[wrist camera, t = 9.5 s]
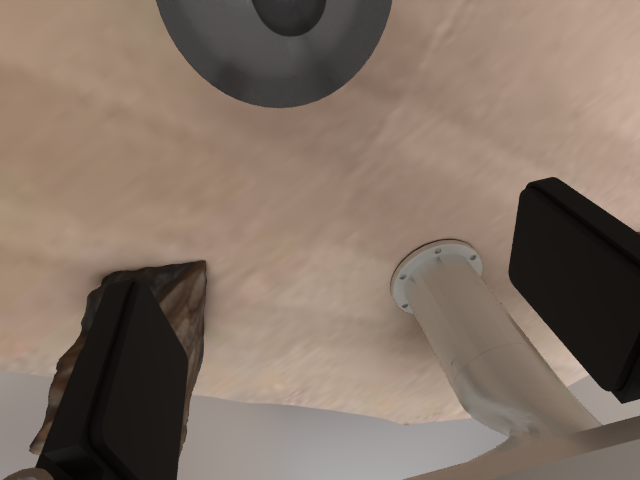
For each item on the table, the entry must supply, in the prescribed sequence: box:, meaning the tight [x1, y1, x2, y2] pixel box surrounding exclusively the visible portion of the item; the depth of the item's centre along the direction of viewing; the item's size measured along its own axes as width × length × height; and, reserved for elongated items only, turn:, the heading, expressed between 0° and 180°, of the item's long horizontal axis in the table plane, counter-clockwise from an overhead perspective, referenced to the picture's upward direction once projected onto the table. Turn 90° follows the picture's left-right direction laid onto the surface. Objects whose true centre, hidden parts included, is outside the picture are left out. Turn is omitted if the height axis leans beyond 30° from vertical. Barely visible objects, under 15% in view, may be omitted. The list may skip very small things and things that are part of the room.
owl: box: [29, 260, 207, 456], centre depth 40 cm, size 13×13×20 cm
